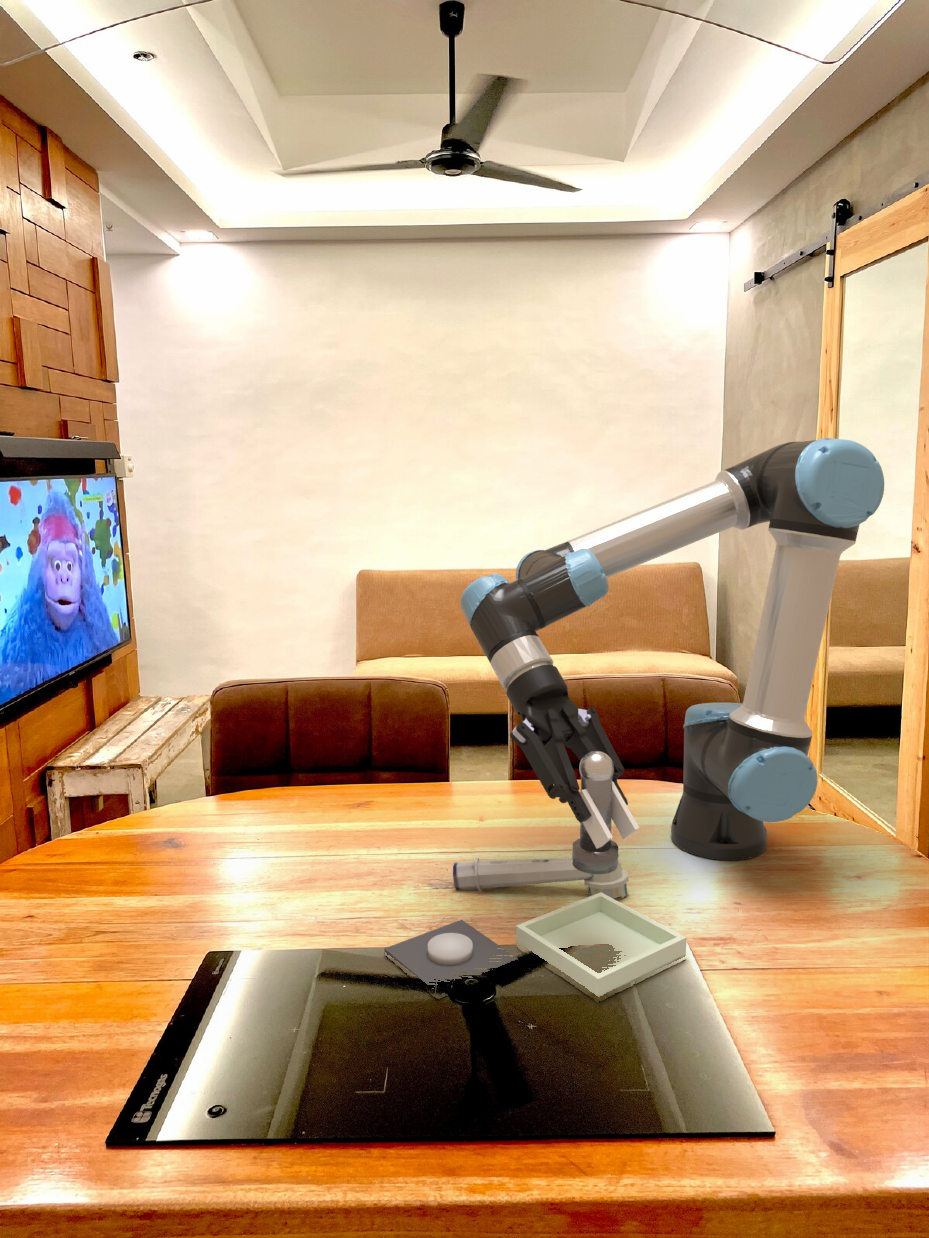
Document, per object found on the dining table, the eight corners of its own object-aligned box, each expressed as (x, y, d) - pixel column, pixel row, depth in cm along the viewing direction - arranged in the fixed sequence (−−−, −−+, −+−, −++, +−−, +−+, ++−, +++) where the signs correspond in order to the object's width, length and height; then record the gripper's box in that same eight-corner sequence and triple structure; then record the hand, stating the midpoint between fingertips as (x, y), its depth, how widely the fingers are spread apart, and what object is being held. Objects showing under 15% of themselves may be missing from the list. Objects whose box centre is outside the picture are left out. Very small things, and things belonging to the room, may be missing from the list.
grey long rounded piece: (455, 855, 131) (623, 840, 127) (462, 896, 132) (629, 883, 128) (450, 870, 126) (625, 855, 122) (457, 913, 127) (631, 900, 123)
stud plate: (461, 926, 118) (461, 911, 117) (517, 965, 108) (517, 949, 108) (384, 955, 111) (384, 939, 110) (437, 1000, 101) (436, 982, 101)
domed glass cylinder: (595, 850, 112) (597, 742, 110) (627, 866, 108) (630, 753, 105) (563, 861, 109) (564, 750, 107) (594, 878, 104) (596, 762, 102)
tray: (600, 912, 121) (600, 892, 120) (685, 959, 109) (686, 937, 108) (516, 947, 112) (515, 925, 112) (598, 1002, 100) (598, 978, 100)
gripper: (564, 685, 123) (649, 835, 112) (466, 703, 113) (550, 869, 102) (591, 654, 117) (683, 808, 107) (491, 670, 108) (581, 842, 97)
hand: (618, 837), depth 105 cm, fingers closed on domed glass cylinder, 4 cm apart
